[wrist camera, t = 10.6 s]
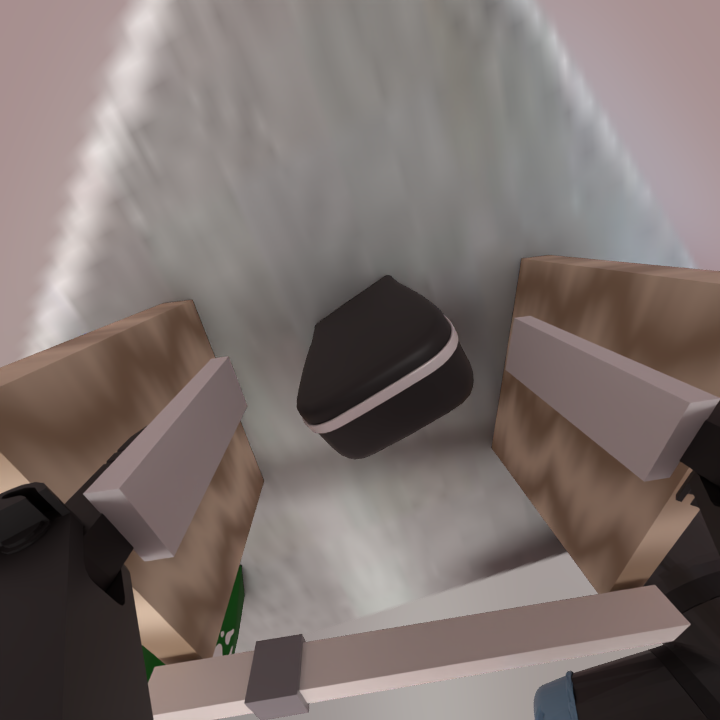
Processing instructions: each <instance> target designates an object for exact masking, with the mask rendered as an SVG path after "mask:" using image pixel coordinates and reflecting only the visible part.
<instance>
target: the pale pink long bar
mask: <svg viewBox="0 0 720 720" xmlns="http://www.w3.org/2000/svg"><path fill="white" fill-rule="evenodd" d="M690 625H691V624H690V623H689V622H688V620H687V619H686V618H685V617H684V616H683V615H682V614H681V613H680V612H679V611H678V609H677V608H676V607H675V606H674V605H673V604H672V603H671V602H670V601H669V600H668V599H667V597H666V596H665V595H664V594H663V593H662V592H661V591H660V590H659V589H658V588H657V586H656V585H650V586H644V587H638V588H632V589H626V590H620V591H614V592H608V593H602V594H596V595H590V596H583V597H577V598H571V599H566V600H560V601H553V602H547V603H541V604H535V605H529V606H522V607H516V608H511V609H504V610H499V611H492V612H486V613H480V614H474V615H468V616H462V617H456V618H449V619H444V620H437V621H431V622H426V623H419V624H413V625H408V626H401V627H395V628H389V629H382V630H376V631H370V632H364V633H358V634H352V635H346V636H341V637H334V638H328V639H322V640H315V641H310V642H305V639H304V637H303V635H302V634H299V635H293V636H287V637H281V638H275V639H269V640H262V641H256V645H255V651H249V652H242V653H236V654H230V655H224V656H218V657H212V658H206V659H200V660H194V661H188V662H182V663H175V664H169V665H163V666H157V667H154V670H153V672H152V675H151V677H150V679H149V682H148V688H149V694H150V700H151V706H152V713H153V719H154V720H215V719H220V718H226V717H232V716H238V715H244V714H249V713H254V714H255V715H256V716H257V717H258V718H259V719H260V720H268V719H274V718H279V717H285V716H291V715H297V714H302V713H308V712H309V703H314V702H319V701H326V700H331V699H337V698H343V697H349V696H355V695H360V694H367V693H372V692H378V691H384V690H390V689H396V688H402V687H407V686H413V685H419V684H425V683H431V682H437V681H442V680H448V679H454V678H460V677H466V676H471V675H477V674H484V673H489V672H495V671H501V670H507V669H512V668H519V667H524V666H530V665H536V664H542V663H548V662H554V661H559V660H565V659H571V658H577V657H582V656H589V655H594V654H600V653H606V652H612V651H618V650H624V649H630V648H635V647H641V646H647V645H653V644H659V643H665V642H671V641H674V640H675V639H676V638H677V637H678V636H679V635H680V634H681V633H682V632H683V631H684V630H685V629H687V628H688V627H689V626H690Z"/></svg>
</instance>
